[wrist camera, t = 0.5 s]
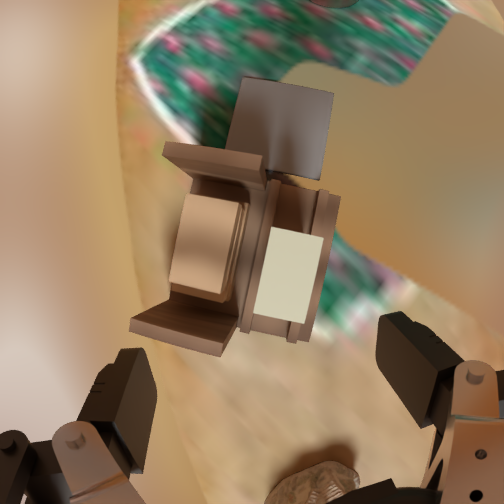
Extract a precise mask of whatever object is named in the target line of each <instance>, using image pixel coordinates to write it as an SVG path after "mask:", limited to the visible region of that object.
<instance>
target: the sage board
mask: <svg viewBox="0 0 504 504" xmlns="http://www.w3.org/2000/svg"><path fill="white" fill-rule="evenodd" d="M323 239H324V238H322V237H317V236H313V235H308V234H304V233H299V232H294V231H290V230H285V229H280V228H275V227H271V231H270V236H269V241H268V245H267V250H266V255H265V260H264V264H263V269H262V274H261V278H260V283H259V288H258V292H257V297H256V302H255V306H254V311H253V313H255V314H260V315H264V316H269V317H273V318H278V319H283V320H288V321H293V322H298V323H302V324H304V323H305V319H306V315H307V311H308V307H309V302H310V298H311V294H312V289H313V285H314V281H315V276H316V272H317V267H318V263H319V258H320V253H321V248H322V244H323Z"/></svg>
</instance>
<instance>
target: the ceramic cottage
mask: <svg viewBox="0 0 504 504" xmlns="http://www.w3.org/2000/svg"><path fill="white" fill-rule="evenodd" d="M359 485H360V479H359V476H358V474H357V473H355V471H353V470H351V469H348V468H347V467H345V466H344V465H342V464H340V463H339V462H336V461H325V462H321V463H320V464H316V465H315V466H314V467H309V468H307V469H305V470H303V471H301V472H298V473H295V474H294V475H291V476H289V477H287V478H286V479H283V480H282V481H281V482H280V483H279V484H278V485H276V488H274V490H272V492H270V494H269V495H268V497H267V499H266V500H265V502H264V504H326V503H328V502H330V501H332V500H334V499H336V498H338V497H340V496H342V495H344V494H346V493H348V492H350V491H352V490H356V489H359Z"/></svg>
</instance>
